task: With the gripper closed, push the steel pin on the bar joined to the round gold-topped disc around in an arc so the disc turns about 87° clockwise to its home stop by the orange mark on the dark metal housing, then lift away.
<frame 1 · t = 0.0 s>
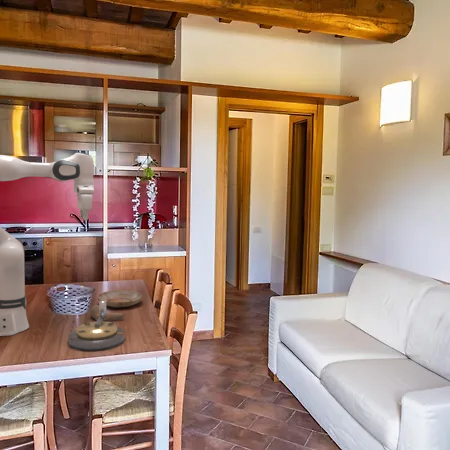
hand: (84, 219, 199), 48 cm above the table, tool pointing down, fingers open, 8 cm apart
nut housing: (96, 340, 179), on the table
pipe: (106, 319, 208), on the table
ceramic bowl: (120, 304, 233), on the table
round gold-topped disc: (98, 319, 182), point 8 cm above the table, hinge at 70.0°
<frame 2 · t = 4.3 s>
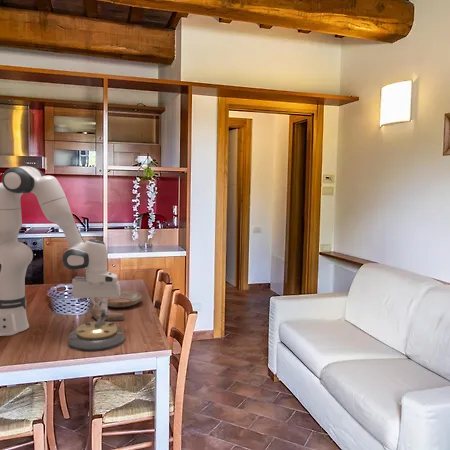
hand: (96, 307, 191), 10 cm above the table, tool pointing down, fingers closed
round gold-topped disc: (98, 319, 182), point 8 cm above the table, hinge at 67.8°, touching gripper
everything else where it was.
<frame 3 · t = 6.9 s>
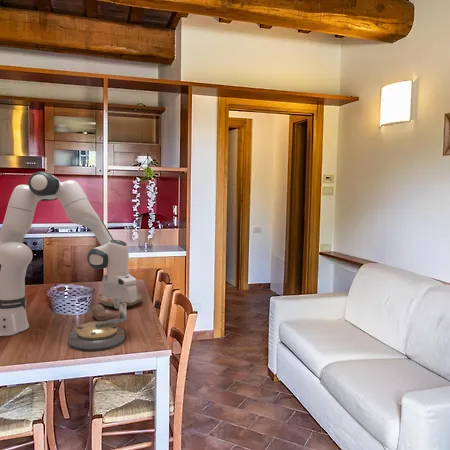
hand: (117, 308, 190), 10 cm above the table, tool pointing down, fingers closed
round gold-topped disc: (104, 319, 181), point 8 cm above the table, hinge at 25.0°, touching gripper
everything else where it was.
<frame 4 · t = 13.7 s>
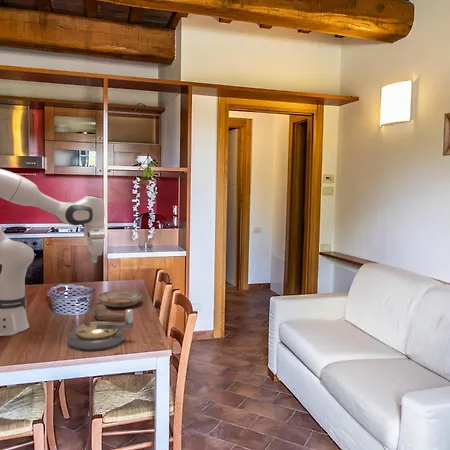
hand: (94, 262, 195), 29 cm above the table, tool pointing down, fingers closed
round gold-topped disc: (105, 321, 179), point 8 cm above the table, hinge at -19.8°
at the end: round gold-topped disc at -20° (first picture: +70°); pipe moved 1.5 cm from its start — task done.
